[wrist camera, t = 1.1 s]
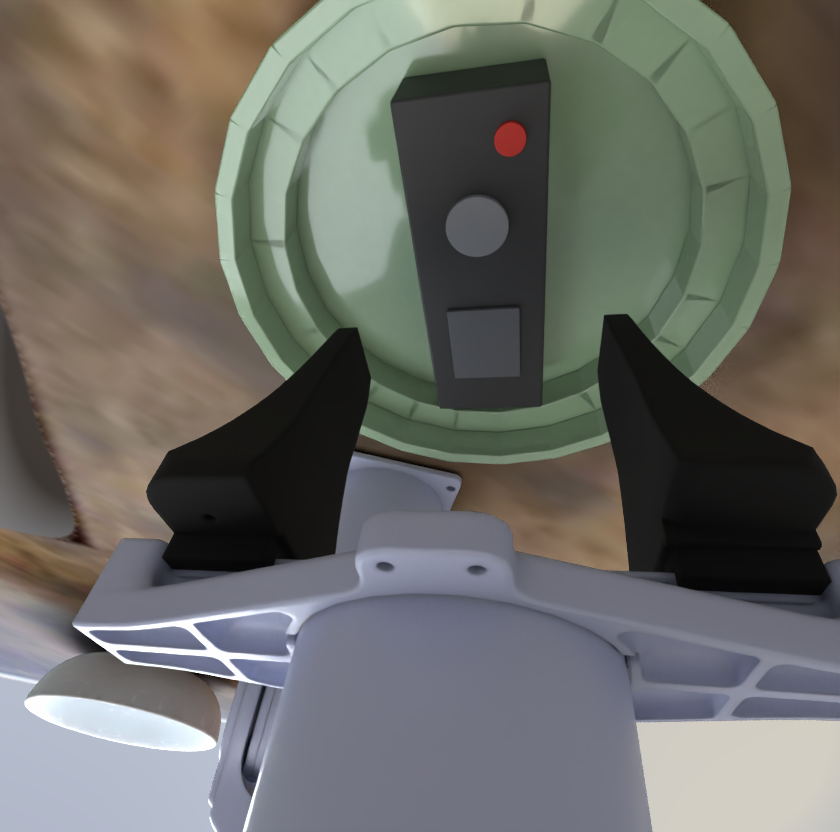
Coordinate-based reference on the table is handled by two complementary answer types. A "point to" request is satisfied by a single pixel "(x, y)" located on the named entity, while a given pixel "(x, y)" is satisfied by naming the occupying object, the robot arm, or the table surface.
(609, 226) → the dish
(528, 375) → the remote
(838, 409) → the table surface
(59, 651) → the table surface
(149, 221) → the table surface
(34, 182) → the table surface
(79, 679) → the serving bowl
